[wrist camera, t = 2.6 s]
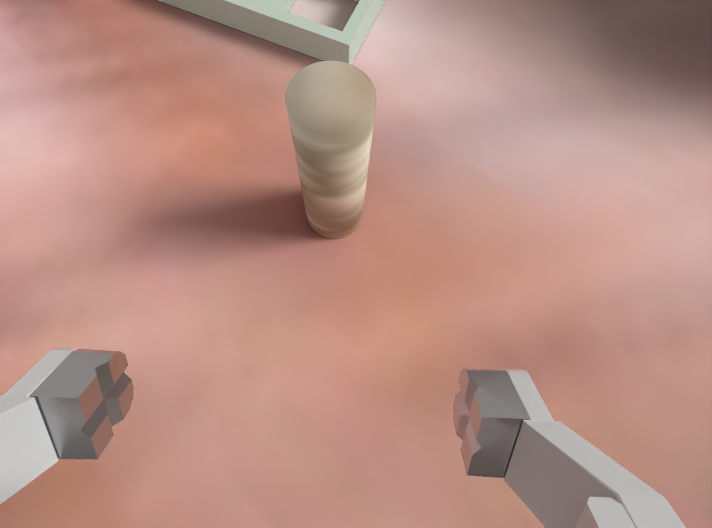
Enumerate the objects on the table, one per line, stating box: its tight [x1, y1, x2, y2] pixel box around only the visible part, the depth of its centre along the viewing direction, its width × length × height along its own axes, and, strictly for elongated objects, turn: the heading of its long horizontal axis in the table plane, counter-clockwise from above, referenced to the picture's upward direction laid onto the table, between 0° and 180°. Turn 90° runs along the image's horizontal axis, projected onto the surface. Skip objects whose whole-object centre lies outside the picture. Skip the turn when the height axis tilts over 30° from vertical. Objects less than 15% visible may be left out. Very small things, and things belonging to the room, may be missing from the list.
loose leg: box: [286, 61, 376, 239], centre depth 24 cm, size 4×4×12 cm
